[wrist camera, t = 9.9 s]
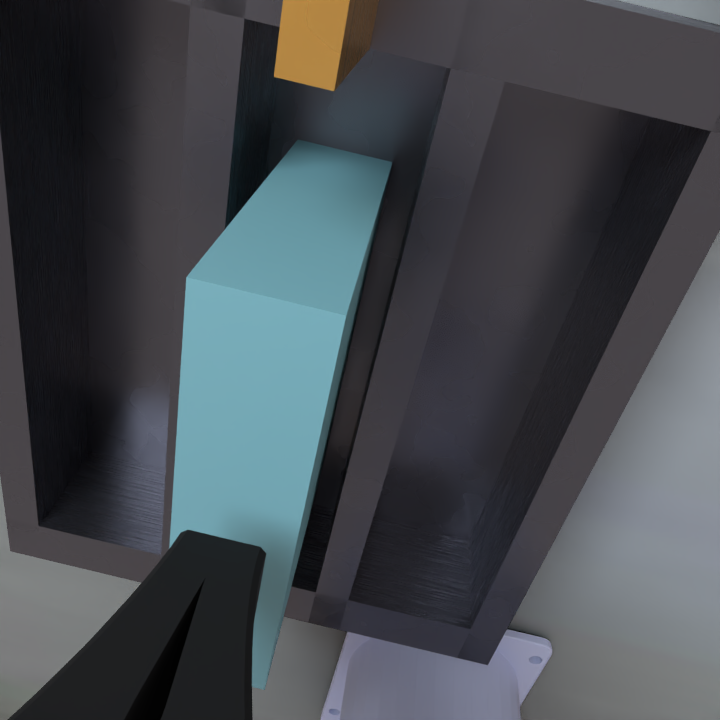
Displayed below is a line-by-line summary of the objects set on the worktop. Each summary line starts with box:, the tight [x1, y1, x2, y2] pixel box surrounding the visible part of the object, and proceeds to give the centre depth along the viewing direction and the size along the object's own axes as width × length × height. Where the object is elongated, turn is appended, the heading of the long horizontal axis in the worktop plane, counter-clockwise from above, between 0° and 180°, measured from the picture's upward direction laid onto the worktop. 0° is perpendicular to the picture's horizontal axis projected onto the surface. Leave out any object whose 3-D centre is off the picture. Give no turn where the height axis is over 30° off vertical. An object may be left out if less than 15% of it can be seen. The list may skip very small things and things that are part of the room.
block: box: [169, 140, 392, 690], centre depth 16 cm, size 10×2×8 cm, turn 169°
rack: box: [0, 0, 720, 665], centre depth 16 cm, size 22×15×8 cm
